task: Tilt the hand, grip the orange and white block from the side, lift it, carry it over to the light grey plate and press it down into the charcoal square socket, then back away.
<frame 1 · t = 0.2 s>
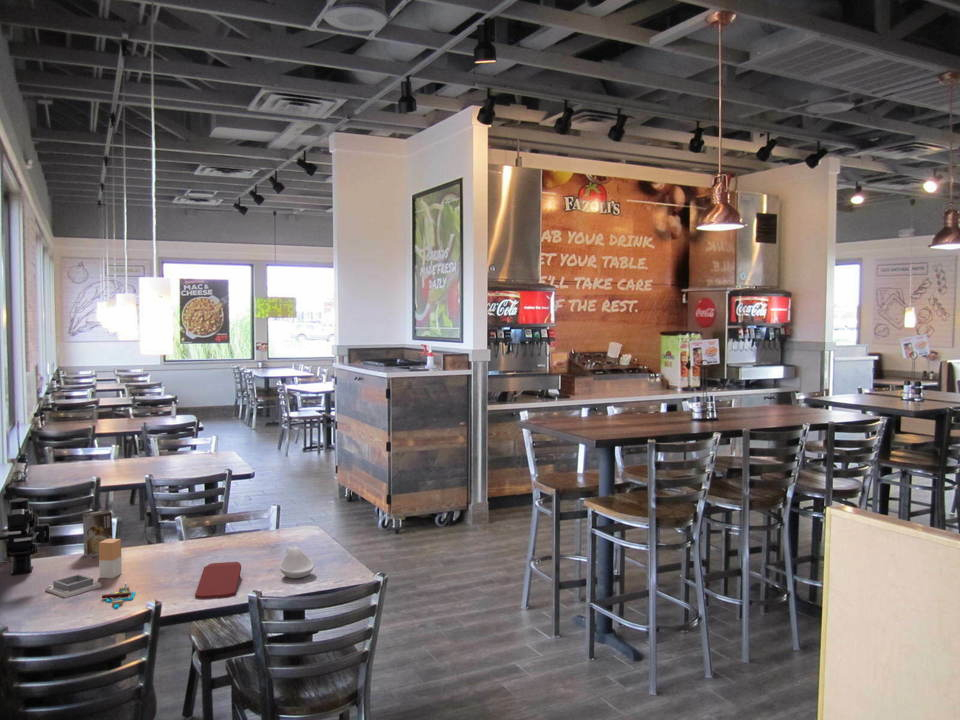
hand: (15, 543, 241), 17 cm above the table, tool horizontal, fingers open, 9 cm apart
socket plate: (73, 588, 246), on the table
red rounded slab: (220, 586, 251), on the table
coffee box: (98, 554, 285), on the table
orange and white block: (110, 575, 259), on the table
turquoise and red toy: (118, 600, 238), on the table
spoon rest: (294, 571, 266), on the table
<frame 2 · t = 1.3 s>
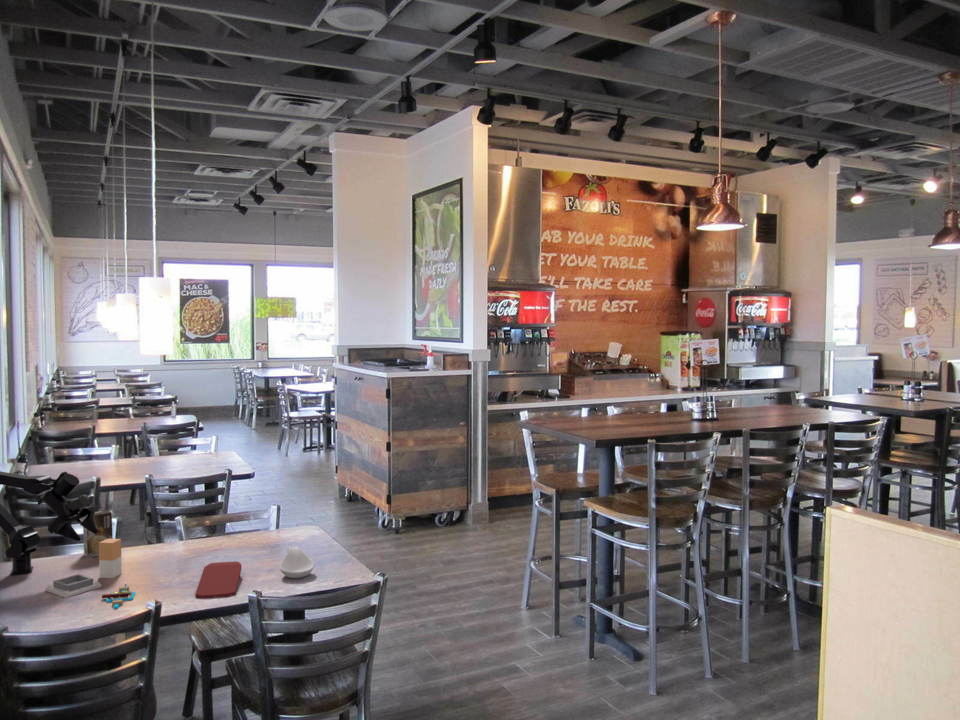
hand: (88, 536, 260), 14 cm above the table, tool tilted 45°, fingers open, 9 cm apart
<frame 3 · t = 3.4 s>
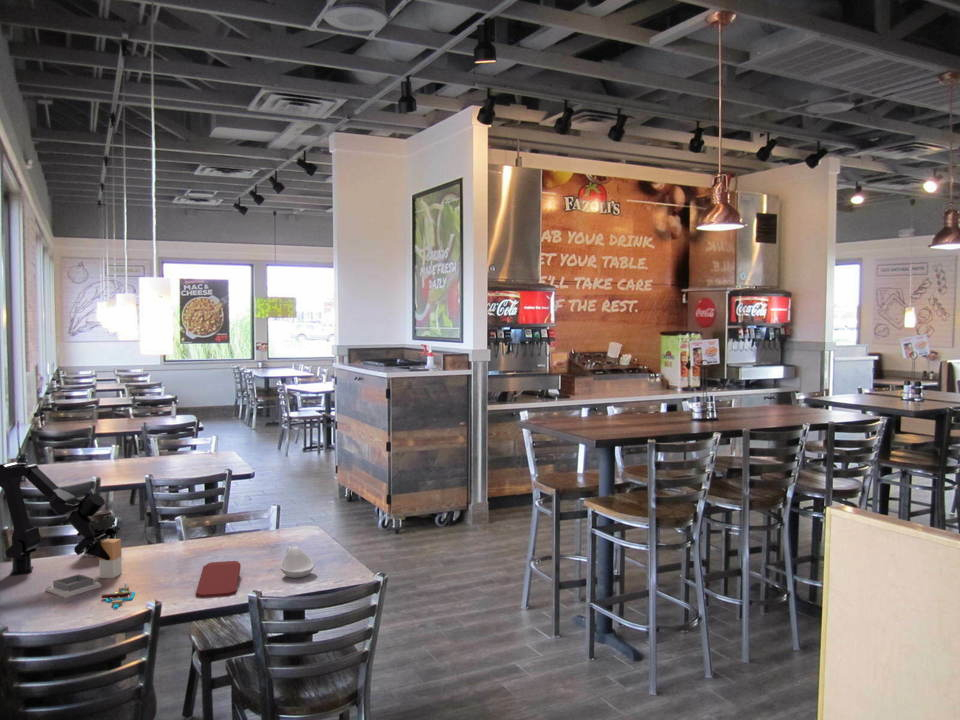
hand: (114, 557, 259), 7 cm above the table, tool tilted 45°, fingers closed on orange and white block, 5 cm apart
orange and white block: (110, 575, 259), on the table, touching gripper
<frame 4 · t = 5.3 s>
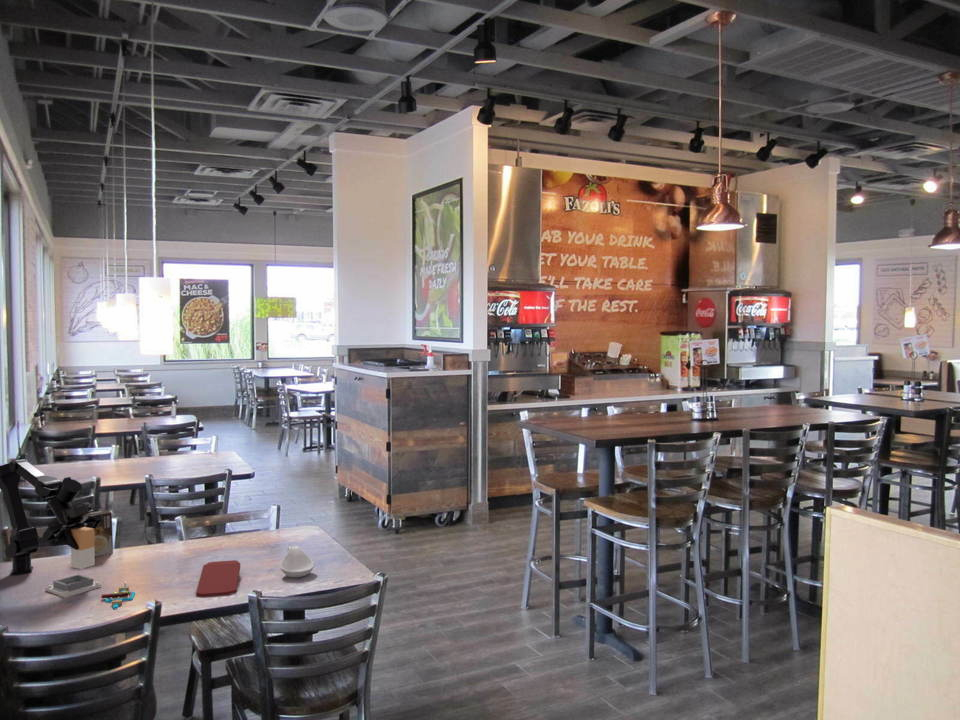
hand: (85, 547, 248), 13 cm above the table, tool tilted 45°, fingers closed on orange and white block, 5 cm apart
orange and white block: (83, 565, 249), point 7 cm above the table, touching gripper
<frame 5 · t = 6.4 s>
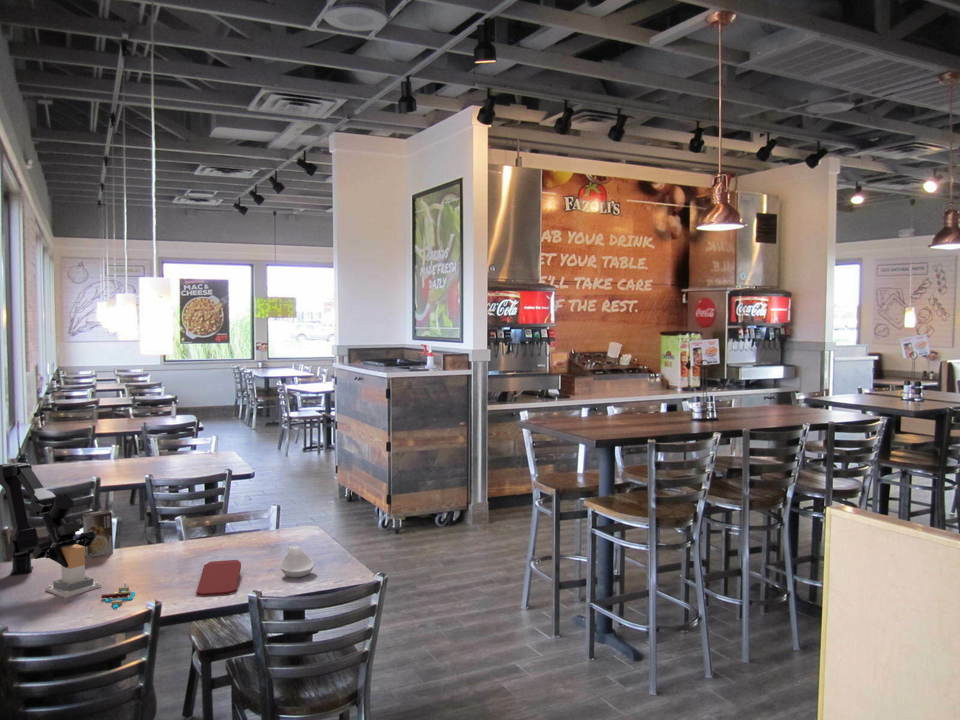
hand: (75, 564, 245), 8 cm above the table, tool tilted 45°, fingers closed on orange and white block, 5 cm apart
orange and white block: (73, 583, 246), point 2 cm above the table, touching gripper
when the fingers open (8 cm above the table, at t = 7.0 s): orange and white block stays where it is, resting on socket plate.
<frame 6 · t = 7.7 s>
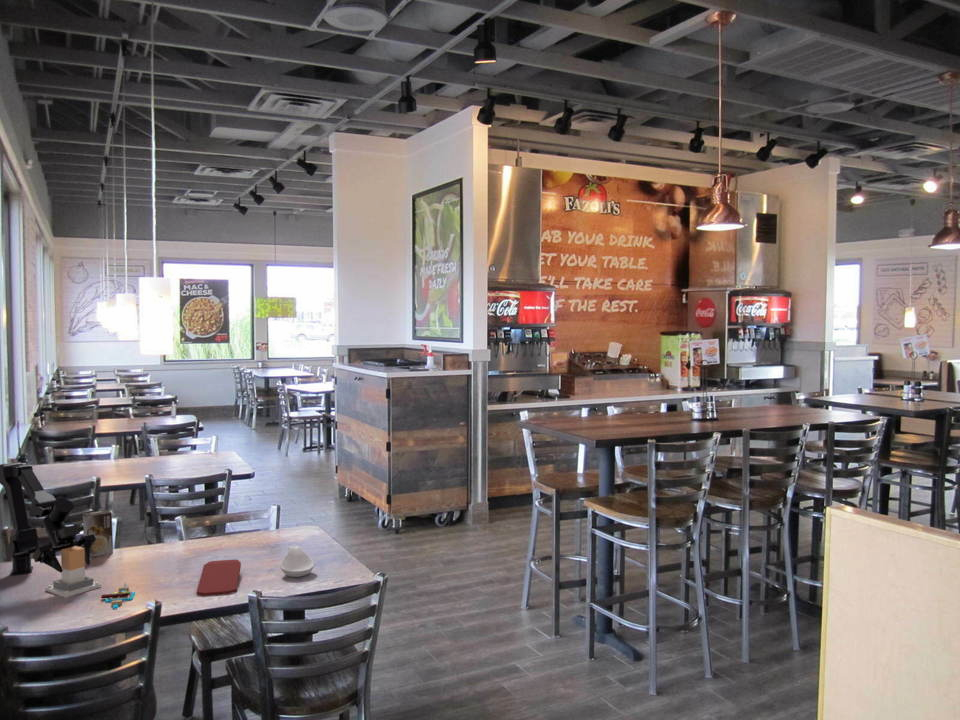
hand: (75, 568, 245), 7 cm above the table, tool tilted 45°, fingers open, 9 cm apart
orange and white block: (73, 585, 246), point 1 cm above the table, touching socket plate
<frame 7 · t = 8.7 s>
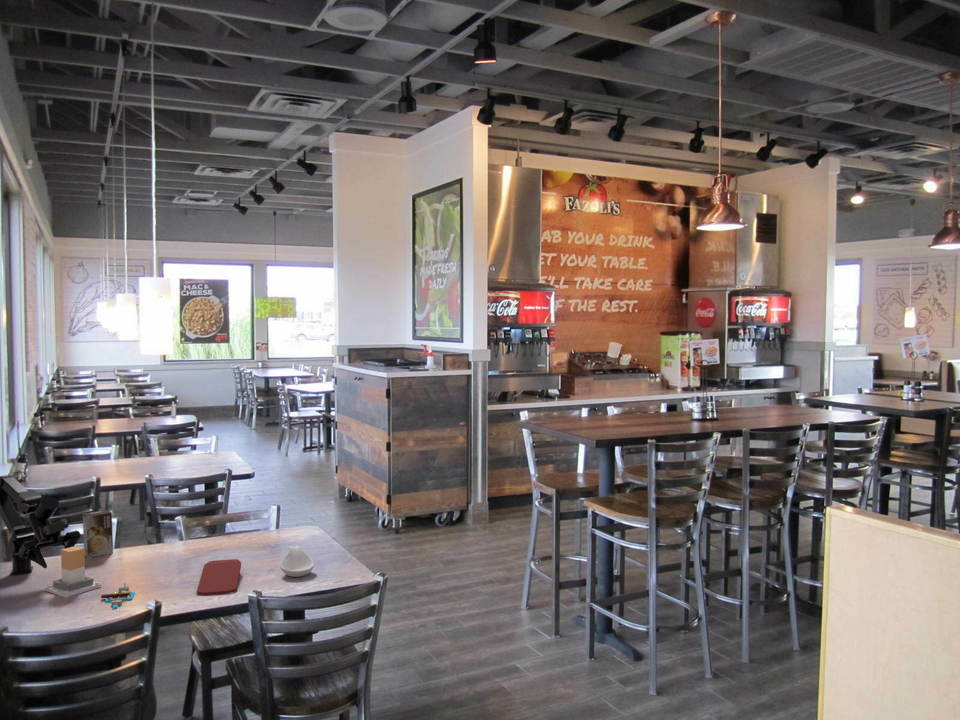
hand: (60, 564, 250), 7 cm above the table, tool tilted 45°, fingers open, 9 cm apart
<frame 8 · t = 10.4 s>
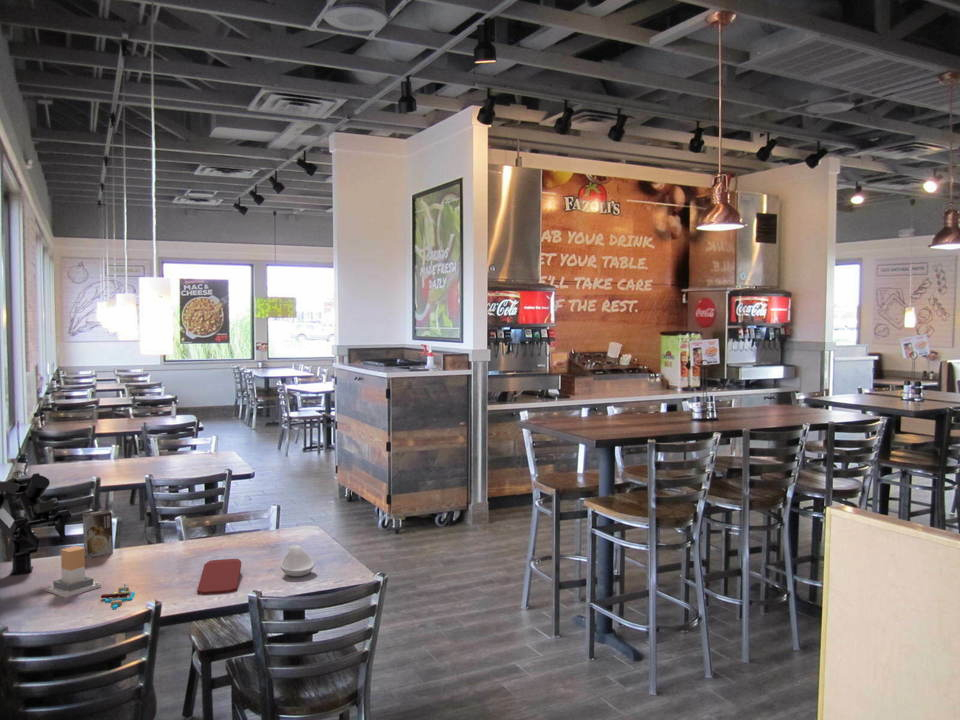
hand: (50, 542, 253), 14 cm above the table, tool tilted 45°, fingers open, 9 cm apart
at the end: orange and white block 0.0 cm off-centre on the socket plate, point 1.0 cm above the socket plate's base; orange and white block tilted 0°; the gripper is holding nothing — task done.
